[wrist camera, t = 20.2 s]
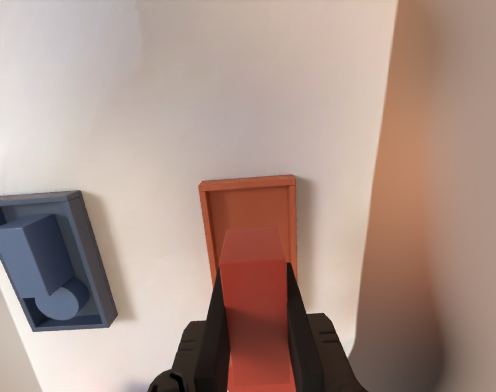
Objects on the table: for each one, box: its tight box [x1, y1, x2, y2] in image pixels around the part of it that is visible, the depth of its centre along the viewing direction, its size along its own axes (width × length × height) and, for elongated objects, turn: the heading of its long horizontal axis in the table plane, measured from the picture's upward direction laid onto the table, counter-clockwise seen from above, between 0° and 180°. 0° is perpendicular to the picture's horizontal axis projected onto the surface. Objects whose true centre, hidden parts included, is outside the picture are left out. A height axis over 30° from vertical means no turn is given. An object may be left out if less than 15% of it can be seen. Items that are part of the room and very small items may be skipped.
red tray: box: [198, 175, 297, 288], centre depth 25 cm, size 16×9×2 cm, turn 4°
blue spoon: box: [0, 214, 89, 320], centre depth 24 cm, size 12×5×4 cm, turn 4°
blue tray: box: [0, 190, 118, 332], centre depth 25 cm, size 16×9×2 cm, turn 4°
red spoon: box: [219, 226, 296, 392], centre depth 14 cm, size 12×5×4 cm, turn 4°
